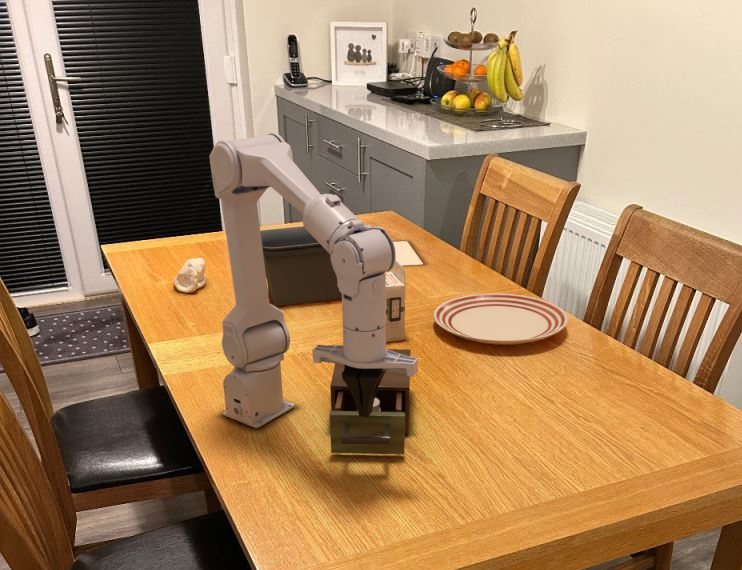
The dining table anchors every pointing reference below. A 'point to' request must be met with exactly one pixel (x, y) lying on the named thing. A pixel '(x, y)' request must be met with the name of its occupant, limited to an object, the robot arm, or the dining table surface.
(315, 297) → the storage bin
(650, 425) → the dining table surface
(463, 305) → the dinner plate
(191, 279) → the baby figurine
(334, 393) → the cabinet
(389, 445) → the drawer
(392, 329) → the ink box
